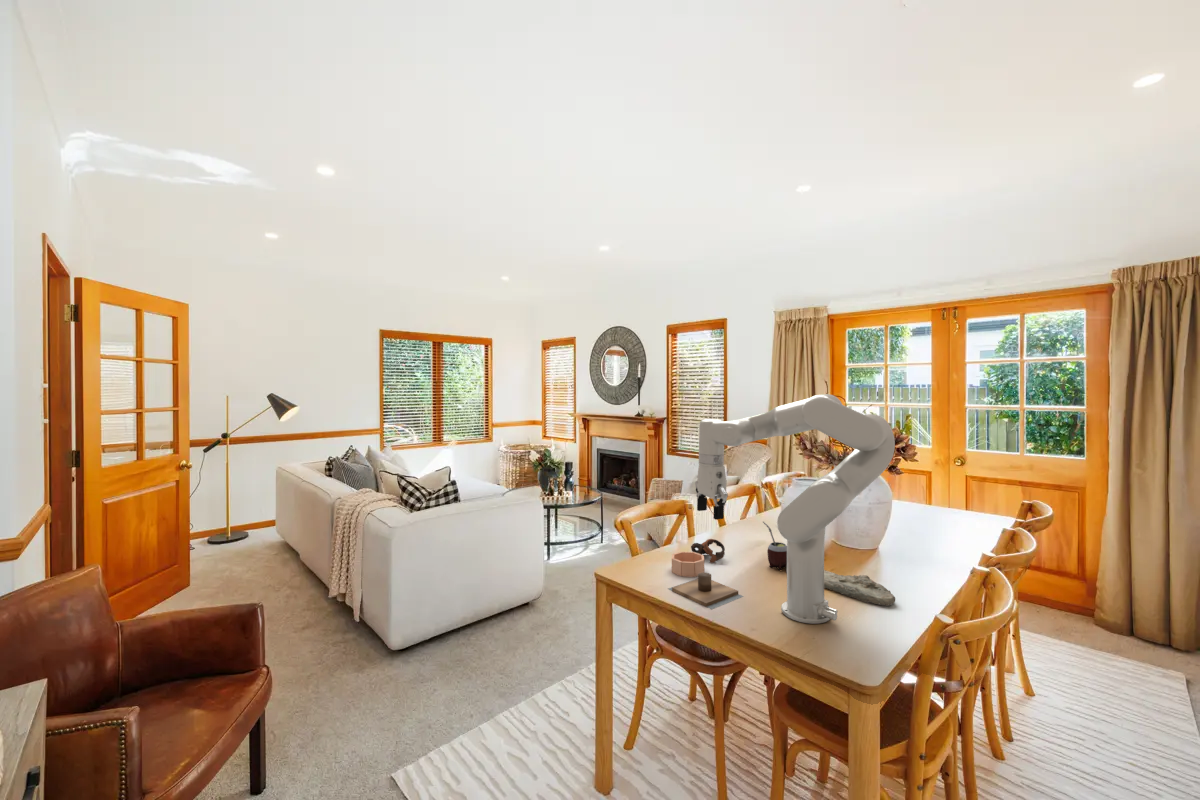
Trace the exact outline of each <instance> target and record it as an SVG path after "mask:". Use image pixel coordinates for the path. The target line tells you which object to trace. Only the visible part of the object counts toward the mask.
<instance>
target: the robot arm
mask: <svg viewBox="0 0 1200 800" xmlns="http://www.w3.org/2000/svg"><path fill="white" fill-rule="evenodd" d="M698 425H699V427H698V428H699V429H698V431H699V432H698V433H699V435H698V470H697V480H696V481H695V482H694V485H695V492H696V498H697V499H696V505H697V506H696V510H697V512H702V511H707V509H708V498H709V499H712V500H713V503H714V505H713V518H712V519H713V520H715V521H716V520H724V517H725V516H724V515H725V506H726V503H727V500H728V496H729V494H728V493H727V476H726V475H727V474H726V468H725V465H724V464H725V459H724V458H725V446H728V447H738V446H741V445H744V444H747V443H751V442H756V441H760V440H764V439H768V438H772V437H787V436H791V435H796V434H801V433H804V432H809V431H813V430H817V431H819V432H821V433H822V434H824V435H826V436H828V437H830V438H832V439H834V440H836V441H838V442H840V443H842V444H843V445H846V446H847V447H849V448H853V449H854V450H852V452H850V453H849V454H848V455H847V456H846V457H845V458H844V459H843V460H841V462H840V463H839V464H837V466H835V467H834V468H832V470H830V471H829V472H828V473H827V474H825V475H823V476H821V477H820V478H818V479H816V480H815V481H813V483H811V484H810V485H809V486H808V487H807V488H806V489H805V490H803V491H802V492H801V493H800V494H799V495H798V496H796V498H795V499H794V500H793V501H792V500H791V502H790V503H789V504H788V505H786V506H785V507H784V508H783V509H782V510H781V511H780V512H779V515H778V516H777V520H776V521H777V522H776V523H777V530H778V532H779V534H780V535H781V537H783V538H784V539H785V540H786V546H787V572H786V594H787V595H786V598H787V599H786V600H787V601H784V602H783V603H781V606H780V607H781V609H780V610H781V612H782V614H783V615H785V617H787V618H788V619H790V620H792V621H796V622H799V623H805V624H813V625H815V624H816V625H817V624H823V623H824V624H825V623H826V622H829V621H830V620H832V621H835V622H836V621H837V619H838V609H835V608H832V607H830V605H829V600H827V599H825V588H824V570H825V538H826V536H825V535H826V527H828V525H830V523H832V522H833V521H834V520H836V519H837V518H838V517H839V516H840V515H842V513H844V511H846V509H847V508H848V507H849V506H850V505H851V504H852V501H854V499H855V498H856V497H857V496H858V495H860V494H861V493H862V492H863V491H864V490H865V489H867V488H868V487H869V486H870V485H871V484H872V483H874V482H875V480H877V479H878V478H879V477H880V476H881V475H882V474H883V473H884V471H885V470H887V468H888V466H889V465H890V463H891V461H892V459H893V457H894V454H895V453H894V452H895V447H896V441H895V435H894V432H893V430H892V427H891V425H890V423H889V422H888V421H887V419H885V418H884V417H882V416H880V415H879V414H873V413H867V414H864V413H861V412H859V411H856V410H854V409H852V408H850V407H848V406H846V405H843V403H842V401H841V400H840V398H838V397H837V396H836V395H833V394H830V393H825V394H816V395H813V396H811V397H808V398H805V399H802V400H801V399H800V400H798V401H797V400H796V401H794V402H789V403H786V404H782V405H779V406H776V407H774V408H772V409H771V410H769V411H766V412H763V413H760V414H756V415H753V416H747V417H744V418H739V419H738V418H737V419H731V420H726V421H723V420H722V419H717V418H705V419H704V418H703V419H701V420H700V422H699V424H698Z"/></svg>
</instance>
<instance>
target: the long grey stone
mask: <svg viewBox="0 0 1200 800" xmlns="http://www.w3.org/2000/svg"><path fill="white" fill-rule="evenodd" d="M785 572H786V573H787V565H786V568H785ZM826 588H827V589H826ZM824 589H826V590H831V591H834V592H836V593H840V594H841V595H844V596H846V597H850V598H854V599H857V600H858V601H861V602H863V603H870V604H875V605H880V606H881V605H882V606H886V607H887V606H889V607H890V606H891V605H893V604H895V603H896V597H895V596H894V595H893V593H891V590H889V589H887V588H886V587H885V586H884V585H882V584H880V583H877V582H875V581H874V580H872V579H871V578H870V577H869V575H864V574H863V575H861V574H860V575H842V574H841V575H840V574H837V573H836V572H832V571H829V570H825V569H824Z"/></svg>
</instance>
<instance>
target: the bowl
mask: <svg viewBox="0 0 1200 800" xmlns="http://www.w3.org/2000/svg"><path fill="white" fill-rule="evenodd" d="M703 572H705V556H704V554H702V555H701V554H698V553H696V552H692V551H678V552H675V553H672V554H671V573H672V574H675V575H677V576H680V577H689V578H691V577H694V578H696V577H698V574H699V573H703Z"/></svg>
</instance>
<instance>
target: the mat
mask: <svg viewBox="0 0 1200 800" xmlns="http://www.w3.org/2000/svg"><path fill="white" fill-rule="evenodd" d="M696 579H697V578H695V579H692V580H689V581H685V582H684V583H687V582H690V581H693V580H696ZM684 583H680V584H677V585H675V586H678V585H681V584H684ZM675 586H674V585H673V586H671V587H669V588H667V590H669V591H671V592H674V591H672V587H675ZM674 593H676V592H674ZM676 594H678V593H676ZM678 595H679V594H678ZM743 597H744V596H743V595H742V594H739V593H738V594H737V595H735V596H732V597H730V598H727V599H725V600H722V601H720V602H717V603H715V604H712V605H709V606H707V607H706V606H704V607H705V608H708V609H709V610H713V609H716V608H719V607H721V606H723V605H726V604H729V603H731V602H734V601H736V600H738V599H741V598H743ZM687 599H688V600H691V599H689V598H687ZM691 601H692V602H694V601H693V600H691Z"/></svg>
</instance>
